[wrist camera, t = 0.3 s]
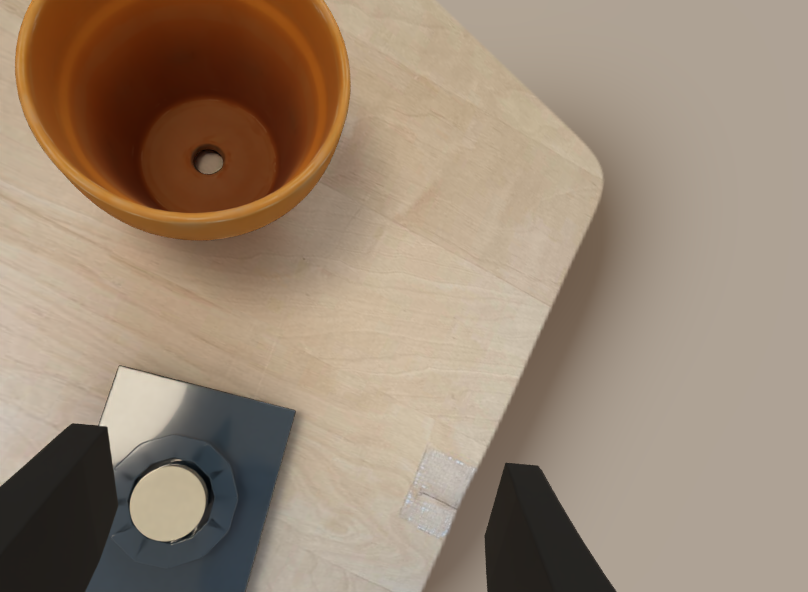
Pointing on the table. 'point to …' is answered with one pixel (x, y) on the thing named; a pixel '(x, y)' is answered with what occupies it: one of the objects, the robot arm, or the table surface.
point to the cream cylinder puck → (168, 502)
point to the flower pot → (185, 105)
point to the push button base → (210, 457)
